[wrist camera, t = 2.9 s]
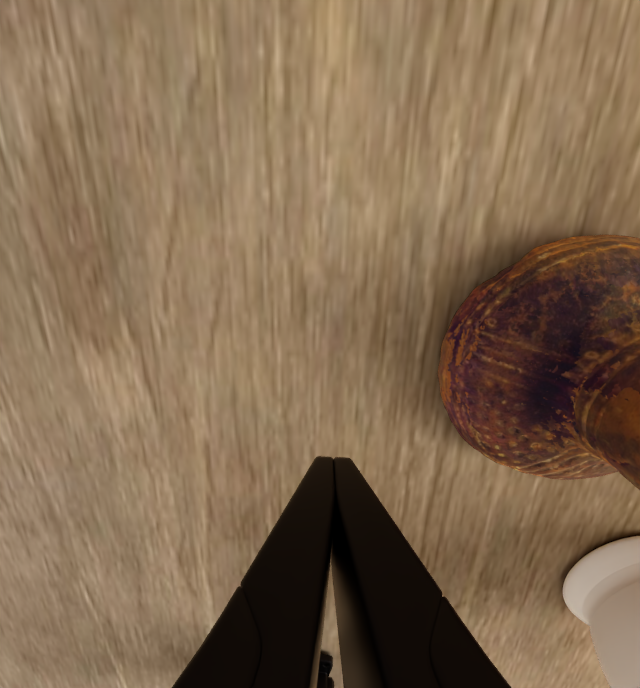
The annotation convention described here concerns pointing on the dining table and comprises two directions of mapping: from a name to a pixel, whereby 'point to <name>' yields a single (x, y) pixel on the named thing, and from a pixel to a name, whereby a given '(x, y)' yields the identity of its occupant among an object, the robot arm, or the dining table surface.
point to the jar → (610, 607)
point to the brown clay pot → (552, 361)
